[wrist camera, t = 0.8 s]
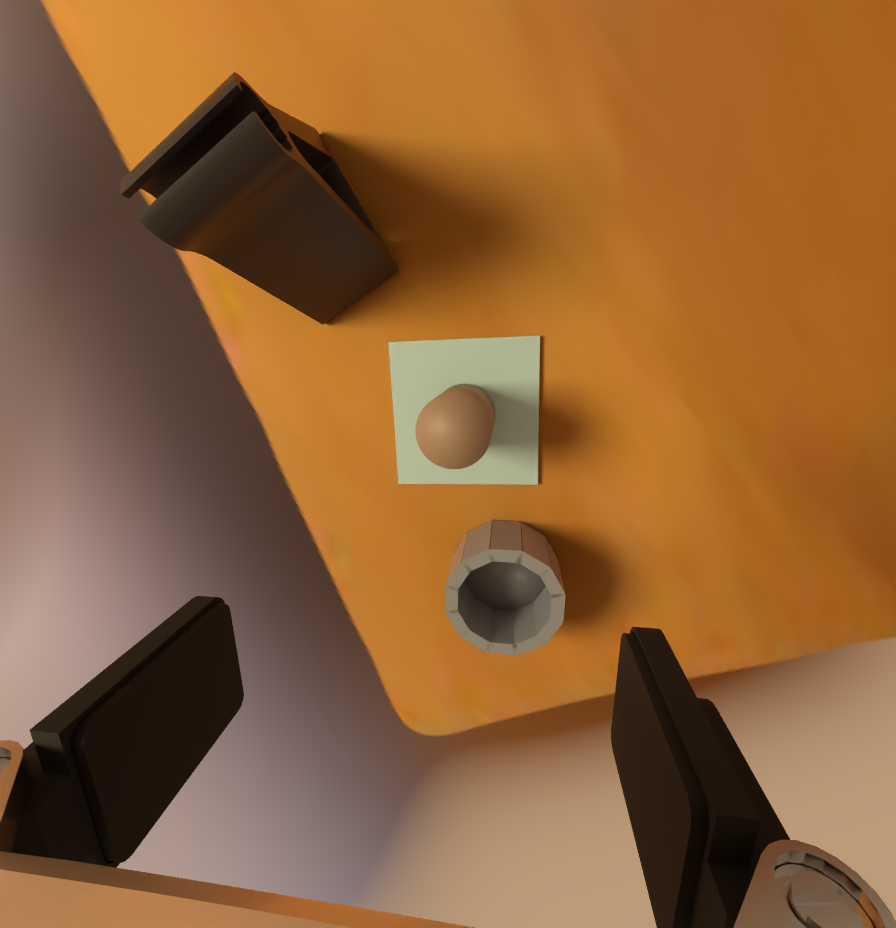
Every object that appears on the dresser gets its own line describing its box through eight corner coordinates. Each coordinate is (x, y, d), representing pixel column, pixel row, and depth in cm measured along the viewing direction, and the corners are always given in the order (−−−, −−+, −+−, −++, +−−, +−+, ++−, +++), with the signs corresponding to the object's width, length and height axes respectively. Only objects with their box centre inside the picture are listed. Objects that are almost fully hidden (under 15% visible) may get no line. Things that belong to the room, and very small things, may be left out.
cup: (454, 517, 31) (445, 546, 27) (560, 523, 30) (568, 554, 26) (453, 608, 33) (445, 648, 29) (553, 616, 32) (560, 659, 28)
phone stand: (400, 272, 27) (319, 221, 16) (324, 325, 29) (200, 314, 17) (319, 131, 26) (164, -38, 14) (243, 194, 27) (49, 87, 16)
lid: (390, 342, 29) (357, 342, 22) (539, 335, 27) (547, 333, 21) (400, 481, 31) (372, 516, 25) (537, 481, 30) (544, 518, 24)
